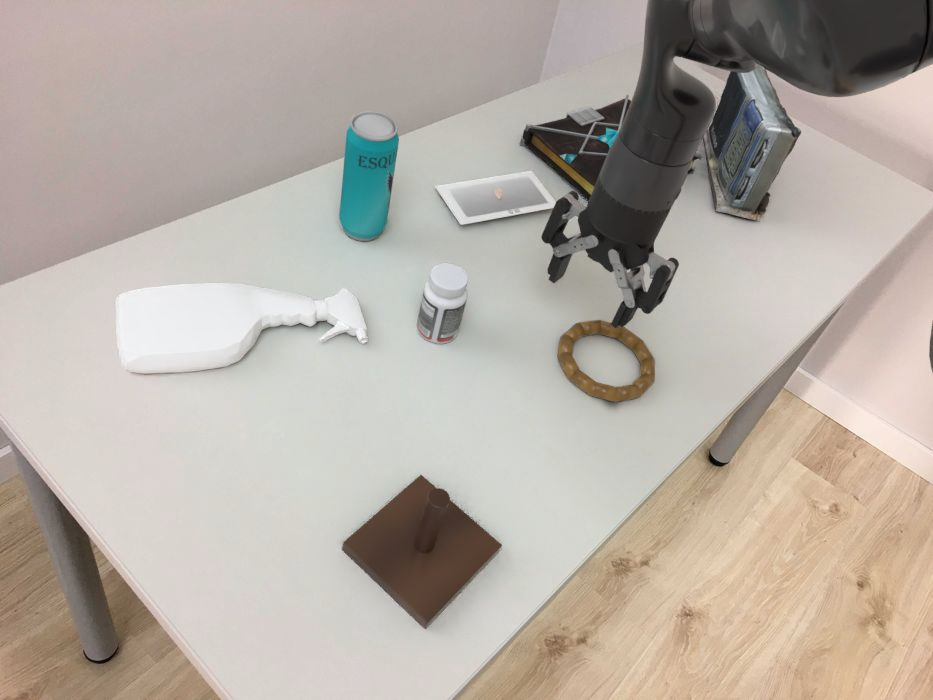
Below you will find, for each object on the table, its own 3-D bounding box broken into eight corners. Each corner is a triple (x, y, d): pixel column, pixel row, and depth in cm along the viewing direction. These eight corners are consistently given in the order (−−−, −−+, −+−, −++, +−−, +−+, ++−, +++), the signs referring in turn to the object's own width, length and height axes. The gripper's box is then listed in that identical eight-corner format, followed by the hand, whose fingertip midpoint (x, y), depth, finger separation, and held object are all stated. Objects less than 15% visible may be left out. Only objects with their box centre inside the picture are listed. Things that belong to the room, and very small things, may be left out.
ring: (669, 368, 91) (674, 359, 90) (618, 421, 85) (623, 412, 83) (592, 312, 95) (596, 303, 94) (537, 359, 88) (541, 350, 87)
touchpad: (433, 192, 104) (435, 179, 102) (529, 177, 110) (533, 164, 109) (459, 231, 100) (462, 218, 98) (557, 213, 106) (562, 200, 105)
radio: (700, 125, 128) (741, 39, 117) (751, 139, 128) (797, 55, 117) (700, 210, 113) (747, 121, 102) (758, 227, 113) (811, 139, 102)
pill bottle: (460, 319, 90) (475, 266, 84) (454, 349, 87) (468, 296, 81) (420, 309, 90) (431, 255, 84) (412, 339, 87) (423, 285, 80)
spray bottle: (117, 302, 82) (349, 286, 90) (120, 385, 76) (370, 359, 84) (113, 282, 80) (352, 267, 88) (116, 365, 74) (374, 341, 82)
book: (619, 113, 126) (630, 85, 122) (695, 174, 119) (709, 146, 115) (517, 144, 115) (526, 114, 111) (595, 214, 108) (607, 185, 104)
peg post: (498, 552, 72) (524, 500, 65) (425, 629, 66) (444, 581, 59) (418, 482, 75) (434, 425, 68) (341, 550, 69) (350, 495, 62)
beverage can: (388, 245, 96) (404, 141, 85) (340, 245, 94) (350, 139, 83) (382, 214, 99) (396, 110, 88) (336, 213, 98) (345, 107, 87)
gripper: (557, 158, 74) (515, 279, 87) (682, 240, 70) (620, 356, 82) (599, 131, 79) (554, 250, 91) (720, 207, 74) (656, 322, 87)
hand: (586, 300), depth 87 cm, fingers open, 8 cm apart
